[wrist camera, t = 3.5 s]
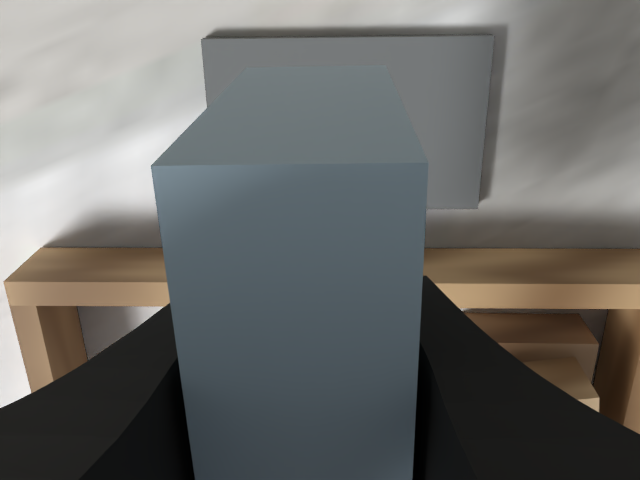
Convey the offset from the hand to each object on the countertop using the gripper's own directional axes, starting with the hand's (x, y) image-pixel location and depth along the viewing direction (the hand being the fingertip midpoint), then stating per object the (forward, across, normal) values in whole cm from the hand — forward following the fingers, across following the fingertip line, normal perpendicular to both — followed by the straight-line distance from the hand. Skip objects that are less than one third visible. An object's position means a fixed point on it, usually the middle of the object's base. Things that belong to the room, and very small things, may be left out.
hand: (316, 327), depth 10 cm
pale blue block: (+2, 0, 0) cm, 2 cm away
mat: (+9, -1, -1) cm, 9 cm away
